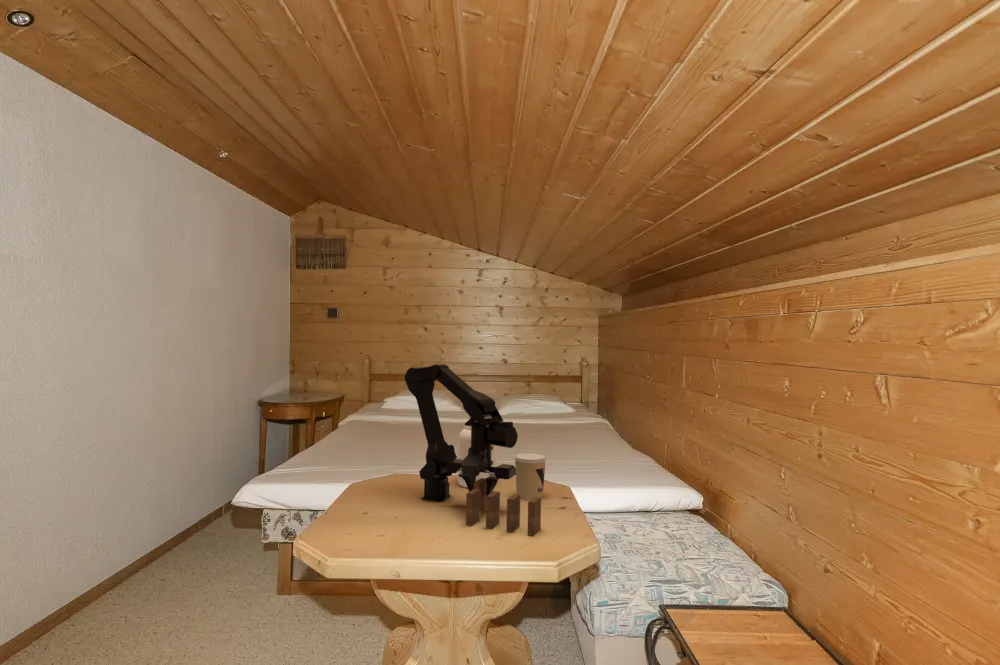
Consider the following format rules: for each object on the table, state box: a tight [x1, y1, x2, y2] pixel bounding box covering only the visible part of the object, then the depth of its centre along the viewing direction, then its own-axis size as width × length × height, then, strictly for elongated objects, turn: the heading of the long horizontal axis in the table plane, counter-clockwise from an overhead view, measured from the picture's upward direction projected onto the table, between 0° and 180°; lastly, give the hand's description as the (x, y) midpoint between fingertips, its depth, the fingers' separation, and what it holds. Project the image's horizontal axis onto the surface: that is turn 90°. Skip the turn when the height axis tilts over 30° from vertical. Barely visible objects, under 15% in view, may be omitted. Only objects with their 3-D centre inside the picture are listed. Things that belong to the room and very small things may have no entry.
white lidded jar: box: [457, 424, 498, 489], centre depth 183 cm, size 12×12×20 cm
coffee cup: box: [514, 452, 547, 501], centre depth 169 cm, size 9×9×12 cm
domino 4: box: [505, 493, 521, 534], centre depth 140 cm, size 2×5×8 cm, turn 158°
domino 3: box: [485, 490, 501, 530], centre depth 142 cm, size 2×5×8 cm, turn 157°
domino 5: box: [527, 497, 542, 537], centre depth 138 cm, size 2×5×8 cm, turn 157°
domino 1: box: [465, 489, 481, 527], centre depth 144 cm, size 2×5×8 cm, turn 157°
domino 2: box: [474, 478, 487, 513], centre depth 156 cm, size 2×5×8 cm, turn 157°
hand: (480, 500), depth 156 cm, fingers open, 4 cm apart
